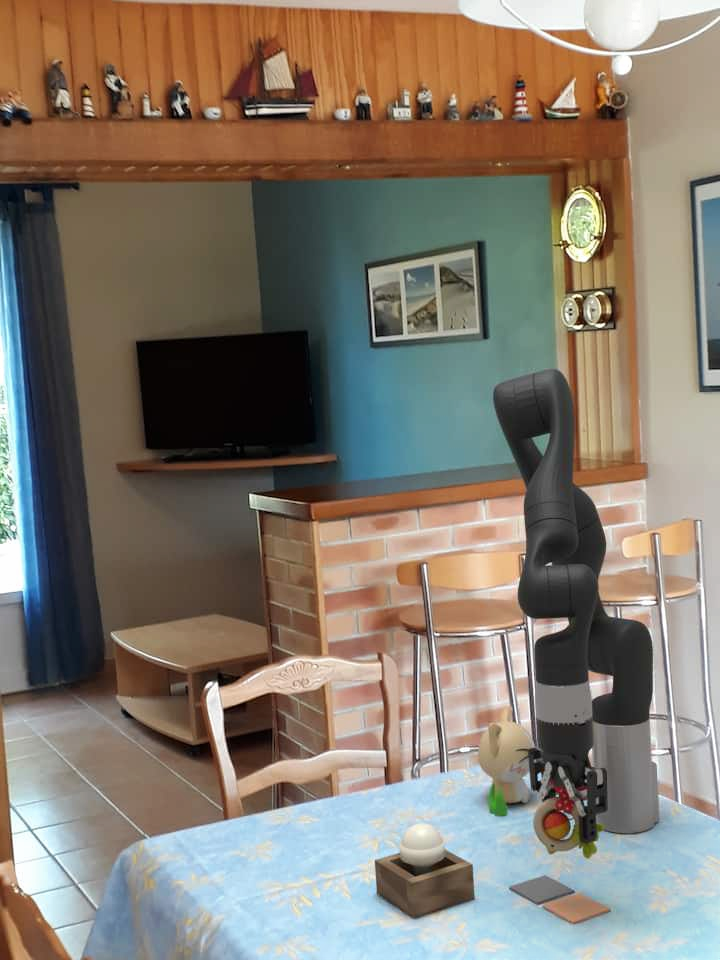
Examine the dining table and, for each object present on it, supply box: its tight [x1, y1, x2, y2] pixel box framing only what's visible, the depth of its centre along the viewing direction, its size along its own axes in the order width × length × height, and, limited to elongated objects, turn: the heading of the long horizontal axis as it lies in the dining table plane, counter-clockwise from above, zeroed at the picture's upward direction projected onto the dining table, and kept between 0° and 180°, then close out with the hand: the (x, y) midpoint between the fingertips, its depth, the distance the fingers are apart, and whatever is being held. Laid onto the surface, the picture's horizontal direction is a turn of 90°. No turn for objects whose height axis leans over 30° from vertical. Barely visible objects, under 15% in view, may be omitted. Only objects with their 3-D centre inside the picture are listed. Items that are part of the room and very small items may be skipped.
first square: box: [508, 874, 575, 905], centre depth 168 cm, size 6×6×1 cm
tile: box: [541, 892, 612, 925], centre depth 162 cm, size 6×6×1 cm
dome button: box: [398, 822, 446, 877], centre depth 168 cm, size 6×6×7 cm
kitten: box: [477, 706, 538, 816], centre depth 204 cm, size 15×10×15 cm
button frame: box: [374, 849, 476, 920], centre depth 168 cm, size 10×10×5 cm
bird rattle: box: [532, 780, 605, 859], centre depth 161 cm, size 6×11×9 cm
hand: (569, 832), depth 161 cm, fingers closed on bird rattle, 7 cm apart
